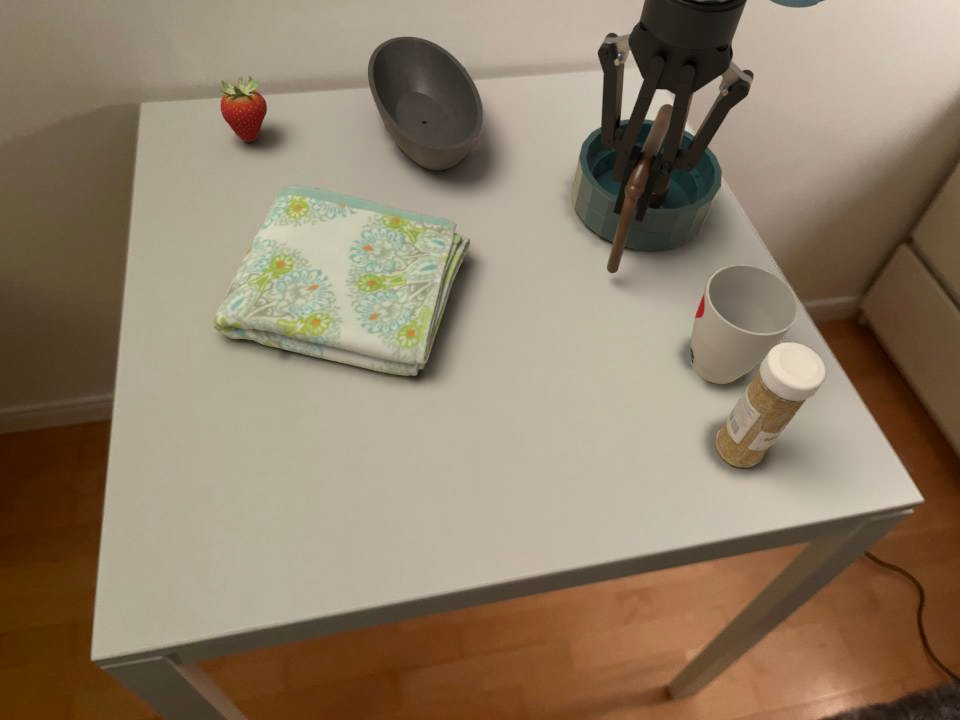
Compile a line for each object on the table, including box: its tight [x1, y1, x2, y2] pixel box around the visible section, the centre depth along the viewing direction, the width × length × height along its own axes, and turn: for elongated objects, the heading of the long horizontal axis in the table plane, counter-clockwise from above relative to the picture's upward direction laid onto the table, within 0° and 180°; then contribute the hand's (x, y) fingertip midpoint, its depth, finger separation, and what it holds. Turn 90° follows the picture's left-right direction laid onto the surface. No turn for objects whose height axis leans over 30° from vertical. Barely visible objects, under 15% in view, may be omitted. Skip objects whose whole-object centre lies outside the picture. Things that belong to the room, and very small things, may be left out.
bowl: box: [367, 36, 484, 172], centre depth 88 cm, size 12×22×6 cm, turn 19°
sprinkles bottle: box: [714, 341, 827, 469], centre depth 62 cm, size 5×5×14 cm
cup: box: [689, 263, 800, 385], centre depth 69 cm, size 8×8×10 cm
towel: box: [212, 184, 471, 377], centre depth 73 cm, size 18×21×5 cm
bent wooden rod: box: [606, 103, 673, 274], centre depth 76 cm, size 16×5×12 cm, turn 158°
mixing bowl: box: [570, 118, 723, 251], centre depth 83 cm, size 16×16×6 cm
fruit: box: [217, 75, 268, 143], centre depth 85 cm, size 5×5×8 cm
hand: (631, 208), depth 75 cm, fingers closed on bent wooden rod, 2 cm apart
